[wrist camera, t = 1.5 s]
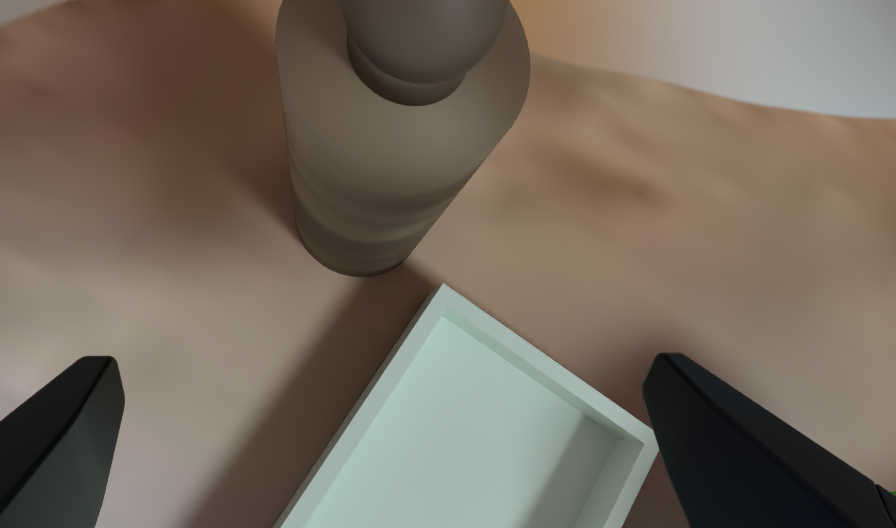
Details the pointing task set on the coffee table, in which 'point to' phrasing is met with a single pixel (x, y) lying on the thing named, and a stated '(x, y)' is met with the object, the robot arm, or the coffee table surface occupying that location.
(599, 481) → the dish
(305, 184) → the pepper mill
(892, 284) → the coffee table surface
